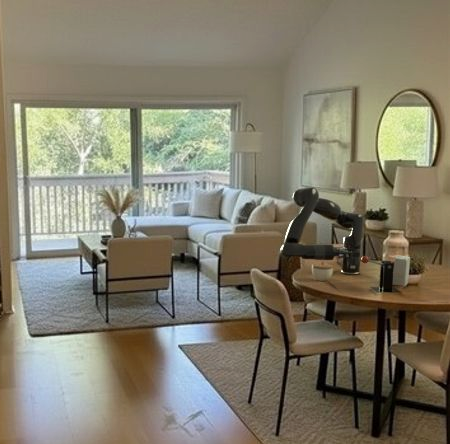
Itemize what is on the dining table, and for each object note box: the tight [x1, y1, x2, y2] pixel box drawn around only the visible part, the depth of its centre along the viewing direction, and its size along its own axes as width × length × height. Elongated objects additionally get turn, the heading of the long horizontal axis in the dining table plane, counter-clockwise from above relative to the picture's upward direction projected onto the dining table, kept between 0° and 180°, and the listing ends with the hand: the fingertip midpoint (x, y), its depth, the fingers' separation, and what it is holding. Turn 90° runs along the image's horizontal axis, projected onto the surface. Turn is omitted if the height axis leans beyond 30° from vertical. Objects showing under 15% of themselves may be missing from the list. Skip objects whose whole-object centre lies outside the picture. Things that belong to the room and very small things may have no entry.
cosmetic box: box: [393, 254, 411, 287], centre depth 282 cm, size 8×6×15 cm
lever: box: [360, 255, 386, 267], centre depth 270 cm, size 14×4×4 cm, turn 88°
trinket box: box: [311, 261, 334, 282], centre depth 296 cm, size 11×11×9 cm
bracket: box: [369, 260, 403, 294], centre depth 271 cm, size 12×10×15 cm
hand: (356, 252), depth 269 cm, fingers open, 8 cm apart
